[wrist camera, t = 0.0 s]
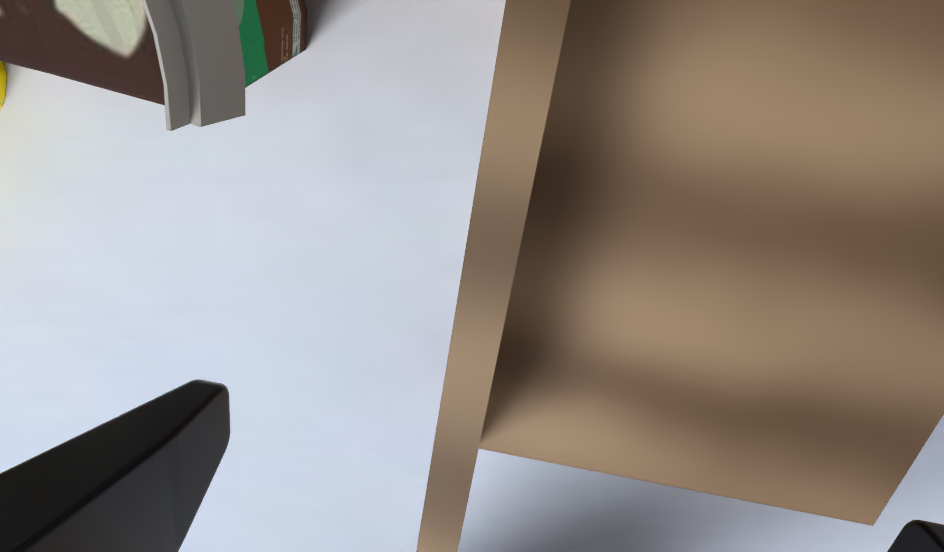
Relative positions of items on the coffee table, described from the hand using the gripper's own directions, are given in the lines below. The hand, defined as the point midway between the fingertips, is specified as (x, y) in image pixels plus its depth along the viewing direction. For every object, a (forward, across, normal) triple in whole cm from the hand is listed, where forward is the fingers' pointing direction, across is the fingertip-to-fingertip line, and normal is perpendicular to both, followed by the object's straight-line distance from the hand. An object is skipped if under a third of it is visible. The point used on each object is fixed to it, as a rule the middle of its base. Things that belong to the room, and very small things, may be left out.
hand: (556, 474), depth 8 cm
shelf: (+15, -6, 0) cm, 16 cm away
